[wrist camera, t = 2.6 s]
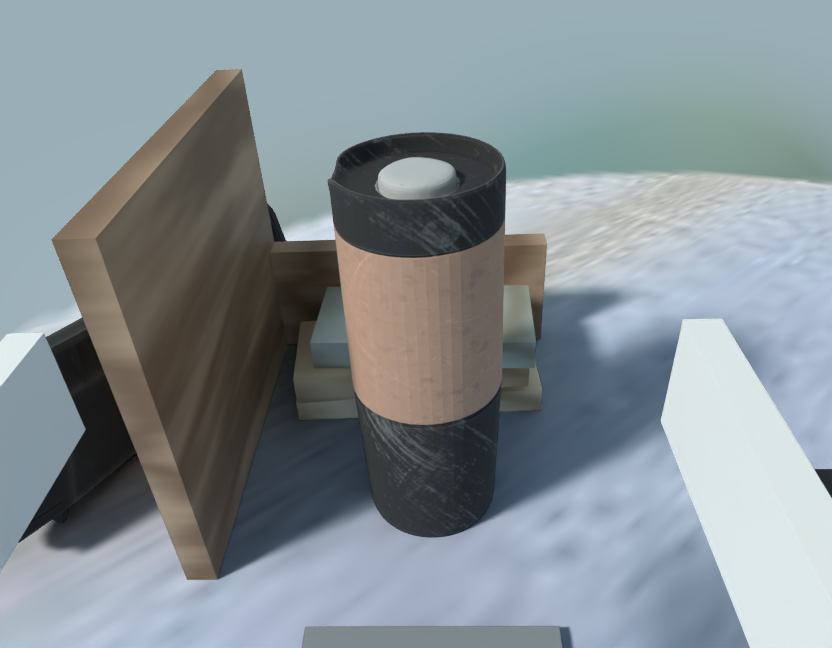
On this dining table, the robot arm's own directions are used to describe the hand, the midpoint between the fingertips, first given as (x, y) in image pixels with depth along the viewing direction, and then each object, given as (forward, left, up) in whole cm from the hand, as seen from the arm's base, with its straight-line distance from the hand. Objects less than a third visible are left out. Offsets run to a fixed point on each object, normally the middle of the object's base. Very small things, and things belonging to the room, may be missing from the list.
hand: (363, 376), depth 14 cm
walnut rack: (+1, -21, -22) cm, 30 cm away
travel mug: (-1, -16, -22) cm, 27 cm away
